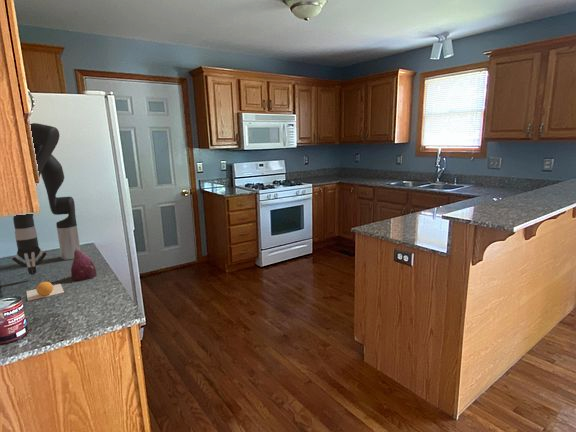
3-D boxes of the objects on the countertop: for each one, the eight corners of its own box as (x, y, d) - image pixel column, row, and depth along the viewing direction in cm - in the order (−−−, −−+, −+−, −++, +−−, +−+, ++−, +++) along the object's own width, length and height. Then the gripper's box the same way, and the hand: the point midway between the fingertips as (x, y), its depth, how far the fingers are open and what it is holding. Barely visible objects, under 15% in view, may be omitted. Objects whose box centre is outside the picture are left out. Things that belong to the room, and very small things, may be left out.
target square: (26, 291, 143) (26, 291, 143) (60, 284, 151) (60, 283, 151) (27, 300, 134) (27, 300, 134) (64, 292, 141) (64, 292, 141)
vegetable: (69, 285, 158) (55, 255, 155) (90, 275, 167) (77, 246, 164) (81, 283, 152) (67, 252, 150) (102, 273, 161) (89, 243, 159)
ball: (38, 290, 134) (39, 300, 137) (55, 285, 138) (55, 295, 141) (34, 281, 137) (34, 291, 139) (50, 277, 141) (50, 287, 143)
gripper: (44, 233, 160) (49, 269, 164) (7, 238, 152) (14, 275, 156) (45, 236, 154) (51, 273, 158) (7, 241, 146) (14, 280, 150)
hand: (32, 274), depth 157 cm, fingers closed
